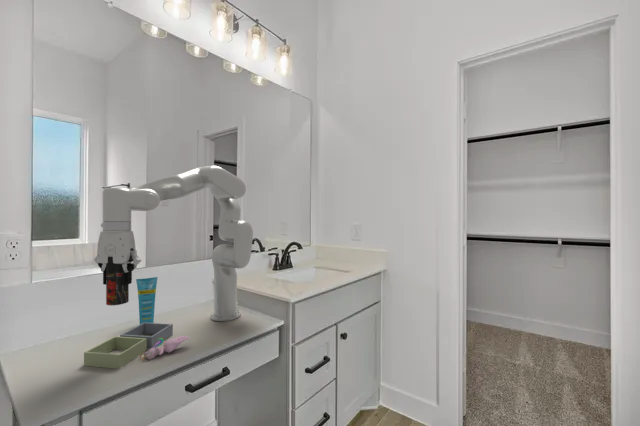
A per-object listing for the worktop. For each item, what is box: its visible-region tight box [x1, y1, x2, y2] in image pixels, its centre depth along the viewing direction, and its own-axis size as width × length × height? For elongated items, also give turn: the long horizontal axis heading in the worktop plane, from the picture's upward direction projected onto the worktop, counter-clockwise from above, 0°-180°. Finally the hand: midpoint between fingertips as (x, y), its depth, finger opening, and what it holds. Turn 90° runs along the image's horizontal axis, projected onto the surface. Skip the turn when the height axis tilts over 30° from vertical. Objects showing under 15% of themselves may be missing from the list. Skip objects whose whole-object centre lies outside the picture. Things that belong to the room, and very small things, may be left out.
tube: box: [135, 276, 158, 325], centre depth 123 cm, size 7×5×19 cm, turn 123°
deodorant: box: [105, 257, 130, 306], centre depth 96 cm, size 6×6×15 cm
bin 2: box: [119, 322, 174, 350], centre depth 109 cm, size 12×12×4 cm
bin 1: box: [83, 335, 148, 369], centre depth 97 cm, size 12×12×4 cm
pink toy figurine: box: [139, 335, 191, 363], centre depth 100 cm, size 6×6×15 cm
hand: (117, 283), depth 96 cm, fingers closed on deodorant, 5 cm apart
